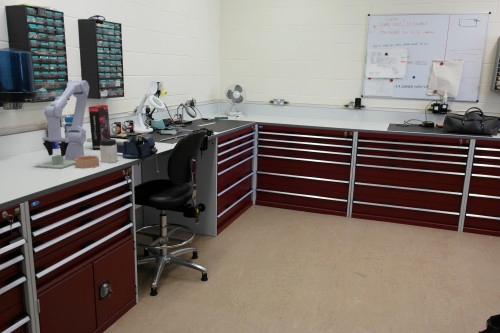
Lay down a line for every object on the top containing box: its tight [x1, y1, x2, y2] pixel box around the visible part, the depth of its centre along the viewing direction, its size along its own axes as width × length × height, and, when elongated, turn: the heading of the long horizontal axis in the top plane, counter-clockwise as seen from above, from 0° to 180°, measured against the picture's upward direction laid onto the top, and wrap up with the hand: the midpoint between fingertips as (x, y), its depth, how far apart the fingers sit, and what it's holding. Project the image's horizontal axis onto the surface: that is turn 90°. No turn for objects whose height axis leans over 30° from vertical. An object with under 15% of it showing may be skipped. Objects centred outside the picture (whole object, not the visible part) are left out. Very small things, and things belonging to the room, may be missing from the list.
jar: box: [99, 138, 118, 164], centre depth 227 cm, size 9×8×12 cm
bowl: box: [74, 155, 100, 169], centre depth 216 cm, size 11×11×4 cm
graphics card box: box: [88, 104, 112, 151], centre depth 266 cm, size 17×7×27 cm, turn 179°
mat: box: [34, 164, 75, 170], centre depth 218 cm, size 17×17×1 cm
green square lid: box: [36, 154, 75, 169], centre depth 217 cm, size 14×14×5 cm
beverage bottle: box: [63, 116, 74, 135], centre depth 265 cm, size 8×8×20 cm
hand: (57, 155), depth 217 cm, fingers open, 7 cm apart
